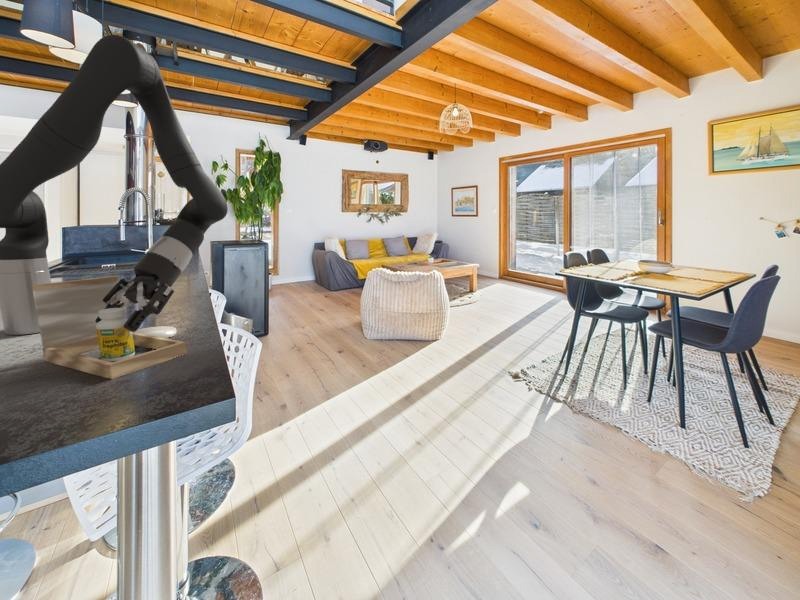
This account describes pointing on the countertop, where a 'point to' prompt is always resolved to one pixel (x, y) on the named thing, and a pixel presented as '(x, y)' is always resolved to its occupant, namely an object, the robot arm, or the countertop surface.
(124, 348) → the supplement bottle
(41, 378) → the countertop surface
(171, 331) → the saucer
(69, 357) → the cold frame
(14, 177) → the robot arm
